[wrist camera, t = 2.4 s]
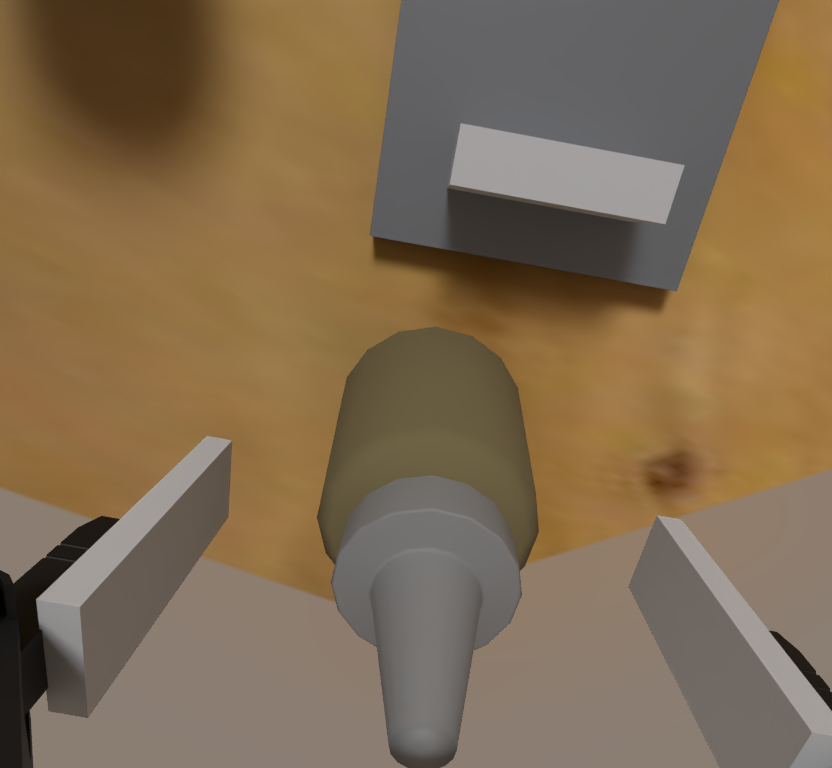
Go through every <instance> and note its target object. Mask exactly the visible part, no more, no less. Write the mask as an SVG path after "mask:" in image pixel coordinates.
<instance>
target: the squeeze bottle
mask: <svg viewBox="0 0 832 768" xmlns="http://www.w3.org/2000/svg"><path fill="white" fill-rule="evenodd" d="M317 519H318V523H319V527H320V531H321V535H322V539H323V543H324V547H325V551H326V554H327V555H328V556H329V558H330V559H331V560H332V561H333V563H334V564H335V568H334V572H333V576H332V580H331V584H332V588H333V592H334V596H335V600H336V604H337V608H338V611H339V613H340V614H341V615H342V616H343V617H344V619H345V620H346V621H347V623H348V624H349V625H350V626H351V627H352V629H353V630H354V631H355V632H356V634H357V635H358V636H359V637H361V638H362V639H364V640H366V641H367V642H369V643H371V644H373V645H374V646H376V647H377V651H378V660H379V667H380V676H381V685H382V693H383V701H384V709H385V718H386V726H387V735H388V743H389V748H390V753H391V755H392V756H393V757H394V758H395V760H396V761H397V762H398V763H400V764H402V765H404V766H406V767H407V768H440V767H442V766H445V765H446V764H448V763H449V762H450V761H451V760H452V759H453V758H454V755H455V753H456V750H457V745H458V739H459V733H460V727H461V721H462V714H463V709H464V703H465V697H466V691H467V685H468V679H469V673H470V667H471V660H472V654H473V650H476V649H478V648H481V647H483V646H485V645H487V644H488V643H489V642H490V641H491V640H492V639H493V638H494V637H495V636H497V635H498V634H499V633H500V632H501V631H502V630H503V629H504V628H505V627H506V626H507V625H508V624H509V623H510V622H511V620H512V617H513V615H514V612H515V610H516V608H517V605H518V603H519V600H520V598H521V596H522V592H521V581H520V570H521V569H522V568H523V567H524V566H525V564H526V562H527V559H528V557H529V555H530V552H531V550H532V547H533V545H534V542H535V540H536V537H537V535H538V532H539V531H538V517H537V503H536V492H535V487H534V481H533V475H532V469H531V463H530V457H529V451H528V446H527V440H526V434H525V428H524V422H523V416H522V410H521V404H520V399H519V393H518V388H517V386H516V384H515V382H514V381H513V379H512V377H511V375H510V374H509V372H508V370H507V368H506V366H505V365H504V363H503V361H502V359H501V358H500V357H499V356H497V355H496V354H495V353H493V352H492V351H491V350H489V349H488V348H487V347H485V346H484V345H483V344H481V343H480V342H479V341H478V340H476V339H475V338H474V337H472V336H469V335H465V334H461V333H457V332H453V331H449V330H445V329H442V328H438V327H432V328H425V329H417V330H410V331H402V332H398V333H396V334H394V335H393V336H391V337H389V338H387V339H386V340H384V341H382V342H381V343H379V344H377V345H375V346H374V347H372V348H370V349H368V350H367V351H366V353H365V354H364V355H363V357H362V358H361V359H360V361H359V362H358V363H357V365H356V366H355V367H354V369H353V370H352V371H351V373H350V374H349V376H348V377H347V379H346V384H345V389H344V393H343V398H342V402H341V407H340V411H339V416H338V421H337V426H336V430H335V435H334V440H333V445H332V449H331V454H330V459H329V464H328V468H327V473H326V478H325V483H324V487H323V492H322V497H321V502H320V506H319V511H318V516H317Z"/></svg>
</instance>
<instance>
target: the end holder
mask: <svg viewBox="0 0 832 768" xmlns="http://www.w3.org/2000/svg"><path fill="white" fill-rule="evenodd" d="M778 2H779V0H401V7H400V14H399V22H398V29H397V37H396V44H395V52H394V59H393V67H392V74H391V82H390V89H389V97H388V104H387V111H386V119H385V126H384V134H383V141H382V149H381V156H380V164H379V171H378V179H377V186H376V194H375V201H374V208H373V216H372V223H371V231H370V236H374V237H379V238H385V239H390V240H396V241H401V242H407V243H412V244H418V245H423V246H429V247H435V248H440V249H446V250H451V251H457V252H462V253H468V254H473V255H479V256H484V257H490V258H495V259H501V260H506V261H512V262H517V263H523V264H528V265H534V266H539V267H545V268H550V269H556V270H562V271H567V272H573V273H578V274H584V275H589V276H595V277H600V278H606V279H611V280H617V281H622V282H628V283H633V284H639V285H644V286H650V287H655V288H661V289H666V290H672V291H677V289H678V286H679V283H680V280H681V277H682V275H683V272H684V269H685V266H686V263H687V260H688V258H689V255H690V252H691V249H692V246H693V243H694V241H695V238H696V235H697V232H698V229H699V226H700V224H701V221H702V218H703V215H704V212H705V209H706V206H707V204H708V201H709V198H710V195H711V192H712V189H713V187H714V184H715V181H716V178H717V175H718V172H719V170H720V167H721V164H722V161H723V158H724V155H725V153H726V150H727V147H728V144H729V141H730V138H731V136H732V133H733V130H734V127H735V124H736V121H737V119H738V116H739V113H740V110H741V107H742V104H743V102H744V99H745V96H746V93H747V90H748V87H749V85H750V82H751V79H752V76H753V73H754V70H755V68H756V65H757V62H758V59H759V56H760V53H761V51H762V48H763V45H764V42H765V39H766V36H767V34H768V31H769V28H770V25H771V22H772V19H773V17H774V14H775V11H776V8H777V5H778Z"/></svg>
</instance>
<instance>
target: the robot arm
mask: <svg viewBox="0 0 832 768" xmlns="http://www.w3.org/2000/svg"><path fill="white" fill-rule="evenodd" d="M231 452H232V440H227V439H221V438H215V437H210V436H207V437H206V438H204V439H203V440H202V441H201V442H200V443H199V444H198V445H197V446H196V447H195V448H194V449H193V450H192V451H191V452H190V453H189V454H188V455H187V456H186V457H185V458H184V459H183V460H181V461H180V462H179V463H178V464H177V465H176V466H175V467H174V468H173V469H172V470H171V471H170V472H169V473H168V474H167V475H166V476H165V477H164V478H163V479H162V480H161V481H160V482H158V483H157V484H156V485H155V486H154V487H153V488H152V489H151V490H150V491H149V492H148V493H147V494H146V495H145V496H144V497H143V498H142V499H141V500H140V501H139V502H138V503H137V504H135V505H134V506H133V507H132V508H131V509H130V510H129V511H128V512H127V513H126V514H125V515H124V516H123V517H122V518H121V519H116V518H110V517H104V516H101V517H98V518H96V519H94V520H92V521H90V522H88V523H86V524H84V525H82V526H80V527H78V528H77V529H76V530H75V531H74V532H73V533H71V534H70V535H69V536H68V537H67V538H66V539H65V540H63V541H62V542H61V544H60V546H59V545H58V546H56V547H55V548H54V549H53V550H52V551H51V552H49V553H48V554H47V556H46V558H43V559H41V560H40V561H39V562H38V563H37V564H36V565H35V566H33V567H32V568H31V569H30V570H29V571H28V572H26V573H25V574H24V575H23V576H22V577H21V578H19V579H18V580H17V581H16V582H15V583H14V584H13V582H12V580H11V578H10V575H9V574H7V573H5V572H3V571H1V570H0V768H33V755H32V735H31V717H30V709H31V708H32V707H33V705H34V704H35V703H36V702H37V700H38V699H39V698H40V697H41V696H42V694H43V693H44V692H45V691H46V692H47V701H48V710H49V711H51V712H57V713H63V714H69V715H75V716H81V717H86V718H88V717H89V716H90V714H91V713H92V711H93V710H94V708H95V707H96V706H97V704H98V703H99V701H100V700H101V698H102V697H103V696H104V694H105V693H106V691H107V690H108V688H109V687H110V686H111V684H112V683H113V681H114V680H115V678H116V677H117V675H118V674H119V673H120V671H121V670H122V668H123V667H124V665H125V664H126V663H127V661H128V660H129V658H130V657H131V655H132V654H133V653H134V651H135V650H136V648H137V647H138V645H139V644H140V643H141V641H142V640H143V638H144V637H145V635H146V634H147V632H148V631H149V630H150V628H151V627H152V625H153V624H154V623H155V621H156V619H157V618H158V617H159V615H160V614H161V612H162V611H163V609H164V608H165V607H166V605H167V604H168V602H169V601H170V600H171V598H172V597H173V595H174V594H175V592H176V591H177V590H178V588H179V587H180V585H181V584H182V582H183V581H184V580H185V578H186V577H187V575H188V574H189V572H190V571H191V569H192V567H193V566H194V565H195V564H196V562H197V561H198V559H199V558H200V557H201V555H202V554H203V552H204V551H205V549H206V548H207V547H208V545H209V544H210V542H211V541H212V539H213V538H214V537H215V535H216V534H217V532H218V531H219V529H220V528H221V527H222V525H223V524H224V522H225V521H226V519H227V518H228V511H229V492H230V472H231ZM629 588H630V590H631V592H632V594H633V596H634V598H635V600H636V602H637V604H638V606H639V608H640V610H641V612H642V614H643V616H644V618H645V620H646V622H647V624H648V626H649V628H650V630H651V632H652V634H653V636H654V638H655V640H656V642H657V644H658V646H659V648H660V650H661V652H662V654H663V656H664V658H665V660H666V662H667V664H668V666H669V668H670V670H671V672H672V674H673V676H674V678H675V680H676V682H677V684H678V686H679V688H680V690H681V692H682V694H683V696H684V698H685V700H686V702H687V704H688V706H689V708H690V710H691V711H692V714H693V716H694V718H695V720H696V722H697V724H698V726H699V728H700V730H701V731H702V734H703V736H704V738H705V740H706V741H707V743H708V745H709V748H710V749H711V751H712V753H713V755H714V757H715V759H716V761H717V763H718V765H719V767H720V768H832V692H830V688H829V687H828V685H827V684H826V683H825V682H824V680H823V679H822V678H821V677H820V676H819V675H816V671H815V669H814V668H813V667H812V666H811V665H810V663H809V662H808V661H807V660H806V659H805V657H804V656H803V655H802V654H801V653H800V651H799V650H797V649H796V648H795V647H794V646H793V645H792V644H790V643H789V642H788V641H787V640H786V639H784V638H783V637H782V636H781V635H780V634H779V633H777V632H774V631H769V630H768V629H767V628H766V627H765V626H764V624H763V623H762V622H761V620H760V619H759V618H758V617H757V616H756V614H755V613H754V612H753V610H752V609H751V608H750V606H749V605H748V604H747V603H746V601H745V600H744V599H743V597H742V596H741V595H740V594H739V593H738V591H737V590H736V589H735V587H734V586H733V585H732V584H731V582H730V581H729V580H728V578H727V577H726V576H725V575H724V573H723V572H722V571H721V569H720V568H719V567H718V566H717V564H716V563H715V562H714V561H713V559H712V558H711V557H710V555H709V554H708V553H707V552H706V550H705V549H704V548H703V547H702V546H701V544H700V543H699V541H698V540H697V539H696V538H695V536H694V535H693V534H692V533H691V531H690V530H689V529H688V528H687V526H686V525H685V524H684V522H683V521H682V520H680V519H675V518H669V517H663V516H658V515H657V516H656V519H655V521H654V524H653V526H652V529H651V531H650V534H649V536H648V539H647V541H646V544H645V547H644V549H643V552H642V554H641V557H640V559H639V562H638V564H637V567H636V569H635V572H634V574H633V577H632V579H631V582H630V584H629Z"/></svg>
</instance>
